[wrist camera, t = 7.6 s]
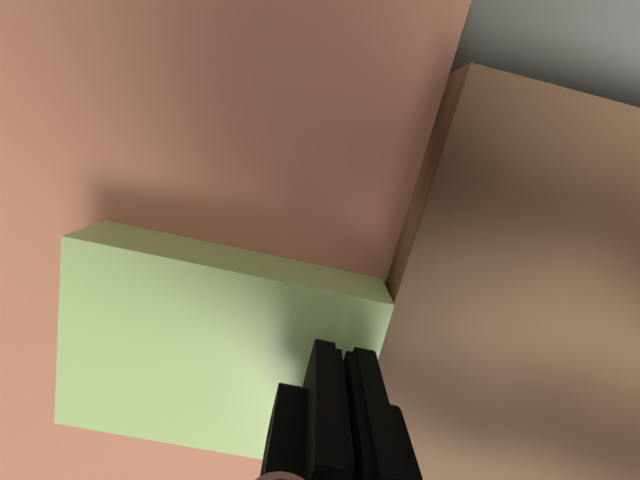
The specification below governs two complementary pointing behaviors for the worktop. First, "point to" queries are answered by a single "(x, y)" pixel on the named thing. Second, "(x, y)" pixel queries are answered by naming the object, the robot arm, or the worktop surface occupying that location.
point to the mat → (197, 166)
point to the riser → (520, 286)
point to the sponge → (195, 334)
